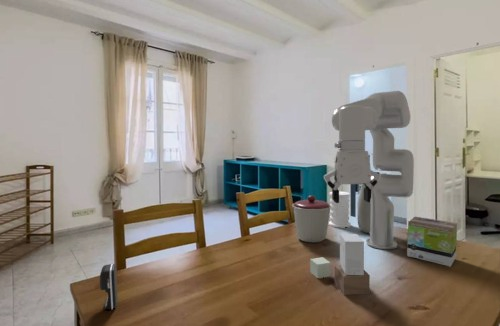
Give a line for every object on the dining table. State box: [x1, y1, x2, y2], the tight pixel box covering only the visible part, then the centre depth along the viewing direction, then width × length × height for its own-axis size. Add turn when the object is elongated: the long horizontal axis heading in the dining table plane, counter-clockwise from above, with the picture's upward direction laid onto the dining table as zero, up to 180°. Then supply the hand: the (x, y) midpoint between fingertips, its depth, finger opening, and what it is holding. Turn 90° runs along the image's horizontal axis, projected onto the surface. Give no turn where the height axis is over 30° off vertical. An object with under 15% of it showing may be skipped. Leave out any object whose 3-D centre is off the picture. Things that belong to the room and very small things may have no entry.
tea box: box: [406, 216, 458, 268], centre depth 115 cm, size 15×10×15 cm
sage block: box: [309, 257, 331, 279], centre depth 103 cm, size 5×5×5 cm
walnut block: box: [334, 264, 371, 296], centre depth 93 cm, size 8×8×6 cm
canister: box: [291, 195, 331, 244], centre depth 139 cm, size 18×18×21 cm
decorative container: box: [328, 190, 352, 229], centre depth 162 cm, size 12×12×18 cm
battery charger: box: [99, 263, 118, 310], centre depth 85 cm, size 7×4×11 cm, turn 20°
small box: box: [339, 233, 365, 275], centre depth 92 cm, size 8×6×10 cm
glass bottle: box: [357, 184, 370, 234], centre depth 148 cm, size 10×10×28 cm
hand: (351, 201), depth 91 cm, fingers open, 9 cm apart
